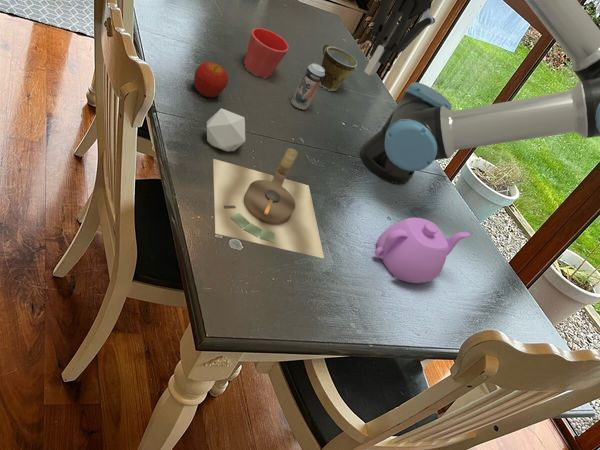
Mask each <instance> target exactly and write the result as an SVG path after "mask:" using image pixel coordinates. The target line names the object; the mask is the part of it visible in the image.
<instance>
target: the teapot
mask: <svg viewBox="0 0 600 450" xmlns="http://www.w3.org/2000/svg"><path fill="white" fill-rule="evenodd" d="M470 235H471V233H470V232H469V231H460V232H457V233H456V234H453V235H451V236H450V237H448V238H446V237H445V235H444V233H443V232H442V231H441V229H440V228H439V227H438V226H437V225H436V224H435V223H434V222H432V221H430V220H428V219H424V218H421V217H408V218H405V219H402V220H401V221H398V222H397V223H394V224H392V225H391V226H389V227H388V228H386V230H383V232H382V233H381V234H380V235H379V236H378V239H377V244H376V248H375V249H374V255H375V256H376V257H377V258H378V259H381V261H382V263H383V264H384V265H385V268H386V269H387V270H388V271H389V273H390V274H391V275H393V277H394V278H395V279H397V280H399V281H403V282H406V283H410V284H420V283H421V284H423V283H427V282H431V281H433V280H434V279H436V278H437V277H438V276H439V275H440V273H441V271H442V270H443V268H444V265H445V263H446V259H447V257H448V255H450V253H452V251H453V250H454V248H455V246H456V245H457V244H458V243H459V242H460V241H462V239H465V238H468V237H469V236H470Z"/></svg>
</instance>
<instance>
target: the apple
mask: <svg viewBox="0 0 600 450" xmlns="http://www.w3.org/2000/svg"><path fill="white" fill-rule="evenodd" d="M228 82H229V76H228V72H227V70H226V69H225V68H224V67H223V66H222V65H220V64H217V63H214V62H211V61H206V62H203V63H201V64H199V65H198V67H196V70H195V72H194V86H195V88H196V91H197V92H198V93H199V94H201V95H202V96H203V97H206V98H215V97H218V96H219V95H220V94H221V93H222V92H223V91H224V90H225V88H226V87H227V85H228Z"/></svg>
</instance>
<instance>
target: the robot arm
mask: <svg viewBox="0 0 600 450" xmlns="http://www.w3.org/2000/svg"><path fill="white" fill-rule="evenodd" d="M524 1H525V3H526V4H527V5H528V6H529V8H530V9H531V11H532V12H533V13H534V14H535V15H536V17H537V18H538V19H539V21H540V23H541V24H542V25H543V27H544V28H545V29H546V30H547V32H549V34H550V35H551V36H552V37H553V38H554V40H555V41H556V42H557V44H558V45H559V46H560V48H561V50H563V51H564V53H565V54H566V56H567V57H568V58H569V60H571V61H572V62H571V67H570V68H571V70H572V72H573V73H574V74H575V75H576V77H577V78H578V80H579V81H578V82H577V83H576V84H575V85H574V87H572V89H570V90H567V91H566V90H565V91H562V92H556V93H549V94H544V95H538V96H532V97H526V98H521V99H516V100H511V101H504V102H498V103H492V104H488V105H487V104H486V105H481V106H477V107H470V108H464V109H459V110H458V109H457V110H452V109H453V108H452V107H453V105H452V103H451V102H450V101H449V99H448V98H447V97H445V96H444V95H443V94H441V92H439V91H437V90H436V89H434V88H433V87H430V86H428V85H426V84H424V83H421V82H412V83H411V84H410V85H409V86H408V87H407V89H405V91H404V93H403V95H402V96H401V98H400V100H399V101H398V103H397V105H396V106H395V108H394V109H393V110H392V112H391V114H390V116H389V117H388V118H387V120H386V122H385V123H384V125H383V126H382V127H381V129H380V130H379V131H377V133H375V134H374V135H372V137H370V138H369V139H368V140H366V142H364V143H363V145H362V147H361V148H360V149H359V156H360V159H361V161H362V162H363V164H364V165H365V166H366V167H367V168H368V170H370V171H371V172H372V173H373V174H374V175H376V176H378V177H379V178H380V179H382V180H385V181H387V182H389V183H392V184H396V185H405V184H408V182H409V181H410V180H411V178H412V177H413V176H414V173H415V172H418V171H422V170H424V169H426V168H428V167H429V166H430V165H431V164H433V162H434V161H439V160H446V159H451V158H452V157H453V155H454V154H455V153H456V152H457V151H459V150H464V149H465V150H467V149H472V148H478V147H485V146H493V145H499V144H505V143H506V144H507V143H512V142H513V143H514V142H519V141H525V140H533V139H538V138H545V137H552V136H558V135H559V136H560V135H566V134H571V133H572V134H573V133H574V134H578V135H579V136H581V137H582V138H584V139H589V138H596V137H600V29H599V27H598V26H597V24H596V23H595V21H594V20H593V19H592V18H591V17H590V15H589V14H588V13H587V11H586V10H585V9H584V7H583V6H582V5H581V3H580V2H579V1H578V0H524ZM432 3H433V0H394V6H393V7H392V8H391V4H392V0H380V2H379V6H378V10H377V13H376V16H375V19H374V23H373V27H372V29H371V34H370V35H371V36H372V37H374V39H375V42H374V45H373V46H372V49H371V51H370V52H369V56H370V57H371V58H370V60H369V62H368V64H367V65H366V67H365V69H364V70H363V72H364V73H366V74H367V75H368V76H371V75H376V73H377V71H378V69H379V68H380V66H381V65H384V64H386V63H388V61H389V58H390V57H391V55H392V54H393V52H394V53H396V54H397V53H403V52H404V51H405V50H406V49H407V47H408V46H409V45H410V44H412V42H413V41H414V40H415V39H416V38H417V37H418V36H419V35H420V34H421V33H422V32H423V31H424V30H425V29H426V28H427V27H429V26H431V25H433V24H435V22H436V19H435V17H432V14H431V11H430V10H431V7H432ZM390 8H391V13H390V14H389V11H390ZM388 14H389V17H388V18H387V16H388ZM420 15H422V16H420ZM418 16H420V19H419V20H420V21H419V22H417V23H416V24H415V25H414V26H413V27H412V29H410V30H409V31H408V33H406V31H407V29H408V28H409V26H410V24H411V23H412V22H413V21H414V19H415V18H416V17H418ZM398 21H399V23H398ZM397 23H398V24H397ZM393 30H394V31H393ZM392 32H393V33H392ZM405 33H406V35H404V34H405ZM391 34H392V35H391ZM403 36H404V37H403ZM389 37H390V38H389ZM388 39H389V40H388ZM385 43H386V44H385Z"/></svg>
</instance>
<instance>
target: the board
mask: <svg viewBox="0 0 600 450" xmlns="http://www.w3.org/2000/svg"><path fill="white" fill-rule="evenodd" d="M212 163H213V164H212V165H213V167H212V168H213V170H212V171H213V198H214V199H213V201H214V203H213V204H214V232H215V235H219V236H225V237H229V238H233V239H237V240H242V241H246V242H250V243H253V244H254V243H255V244H259V245H264V246H267V247H270V248H271V247H272V248H275V249H280V250H285V251H290V252H292V253H293V252H295V253H296V254H297V253H299V254H303V255H308V256H312V257H316V258H320V259H323V260H325V256H324V252H323V247H322V242H321V238H320V237H321V236H320V233H319V228H318V223H317V217H316V213H315V209H314V204H313V199H312V194H311V190H310V186H309V185H308V184H304V183H301V182H298V181H294V180H291V179H287V178H285V179H284V181H283V184H282V187H283V188H285V189H286V190H287V191H288V192H289V193H290V194H291V195H292V197H293V199H294V201H295V209H294V211H293V213H292V215H291V216H290V218H289V220H288V221H286V222H285V223H282V224H271V223H267V222H265V221H262V220H260V219H259V218H257V217H256V216H254V215H253V214H252V213H251V212H250V211H249V210H248V208H247V207H246V205H245V202H244V196H245V193H246V191H247V189H248V187H249V186H250V184H251V183H252V182H254V181H257V180H267V181H271V182H272V181H273V178H274V174H273V175H272V174H269V173H265V172H261V171H259V170H255V169H252V168H247V167H244V166H240V165H237V164H233V163H230V162H227V161H222V160H219V159H215V158H213V159H212Z"/></svg>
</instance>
